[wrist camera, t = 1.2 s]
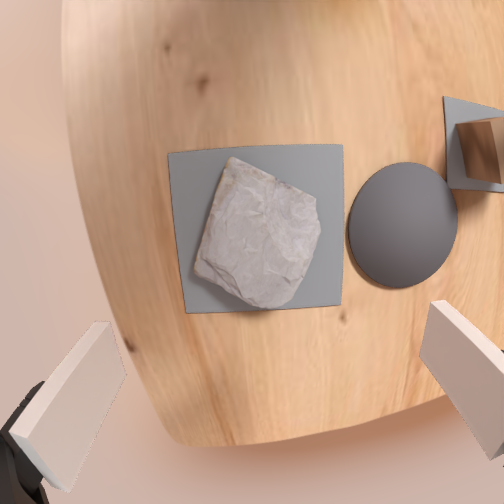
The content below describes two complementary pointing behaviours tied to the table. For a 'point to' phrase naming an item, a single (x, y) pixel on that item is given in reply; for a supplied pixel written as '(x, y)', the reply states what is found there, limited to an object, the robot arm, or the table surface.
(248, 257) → the stone
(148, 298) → the table surface
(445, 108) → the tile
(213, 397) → the table surface
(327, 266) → the tile
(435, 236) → the coaster
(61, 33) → the table surface
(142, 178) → the table surface
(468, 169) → the walnut block
